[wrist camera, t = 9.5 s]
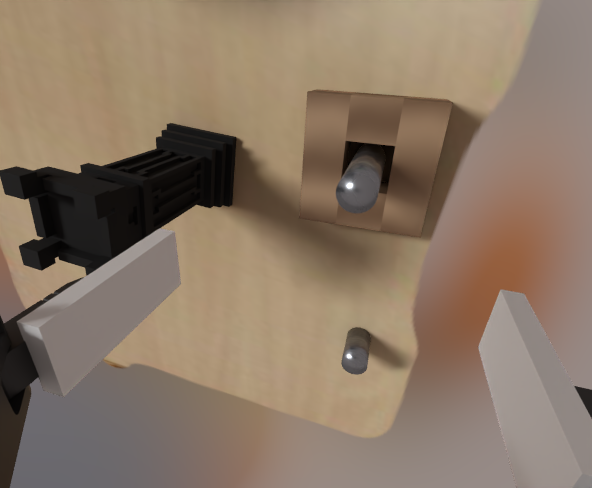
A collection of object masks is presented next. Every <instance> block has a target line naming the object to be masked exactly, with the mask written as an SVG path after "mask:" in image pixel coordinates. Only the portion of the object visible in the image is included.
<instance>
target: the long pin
mask: <svg viewBox="0 0 592 488" xmlns="http://www.w3.org/2000/svg"><path fill="white" fill-rule="evenodd" d="M385 160H386V155H385V151H384V150H383V148H382V147H381V146H380V145H378V144H371V143H367V144H364V145H363V146H361V147H360V148H359V149H358V151H357V153H356V154H355V156H354V158H353V159H352V161H351V163H350V164H349V166H348V168H347V170H346V171H345V173H344V175H343V176H342V178H341V180H340V181H339V183H338V185H337V188H336V199H337V201H338V203H339V205H340V206H341V207H342V208H343V209H344V210H346V211H348V212H350V213H364V212H366V211H368V210H369V209H371V208H372V207H373V206H374V204H375V203H376V201H377V197H378V192H379V188H380V183H381V179H382V174H383V169H384V165H385Z"/></svg>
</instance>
